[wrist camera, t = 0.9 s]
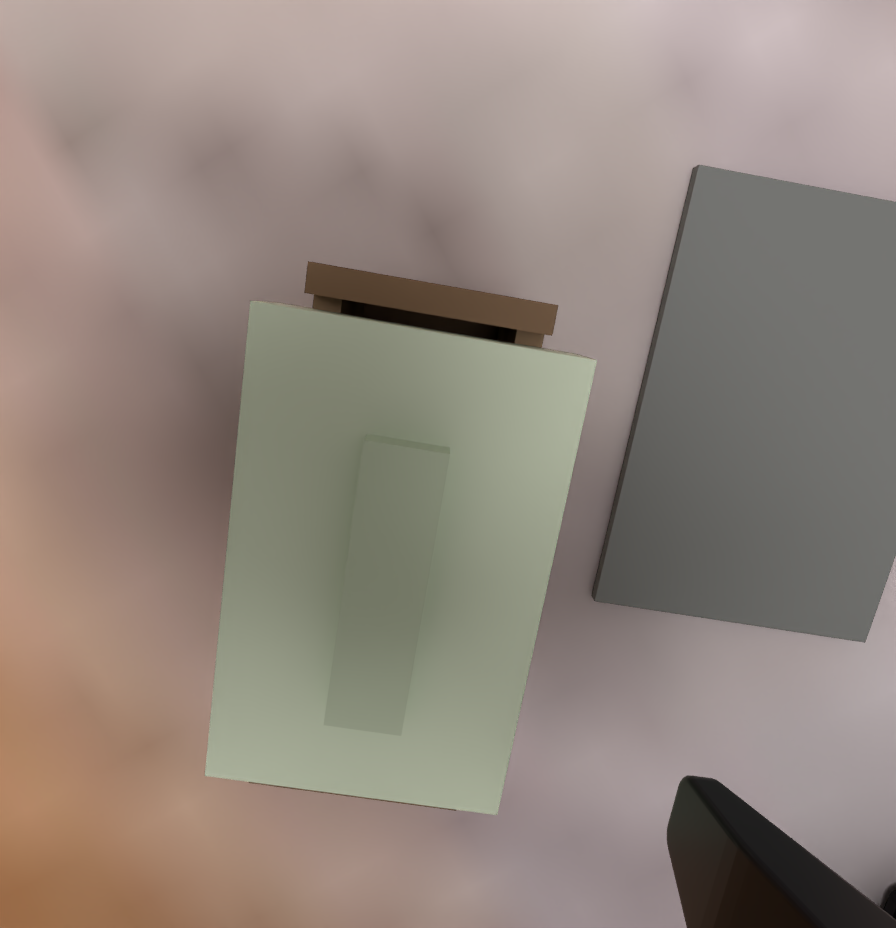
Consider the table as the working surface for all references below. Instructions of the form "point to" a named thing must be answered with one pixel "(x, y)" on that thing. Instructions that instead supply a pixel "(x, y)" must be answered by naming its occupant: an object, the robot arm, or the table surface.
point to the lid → (387, 554)
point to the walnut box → (428, 314)
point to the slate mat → (765, 415)
